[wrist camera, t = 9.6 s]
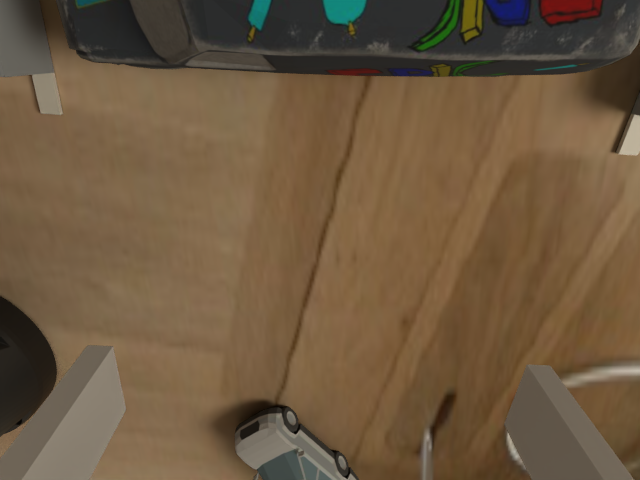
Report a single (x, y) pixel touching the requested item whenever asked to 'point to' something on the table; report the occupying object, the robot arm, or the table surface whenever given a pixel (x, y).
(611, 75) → the table surface
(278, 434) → the toy car
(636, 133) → the bay
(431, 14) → the toy van
